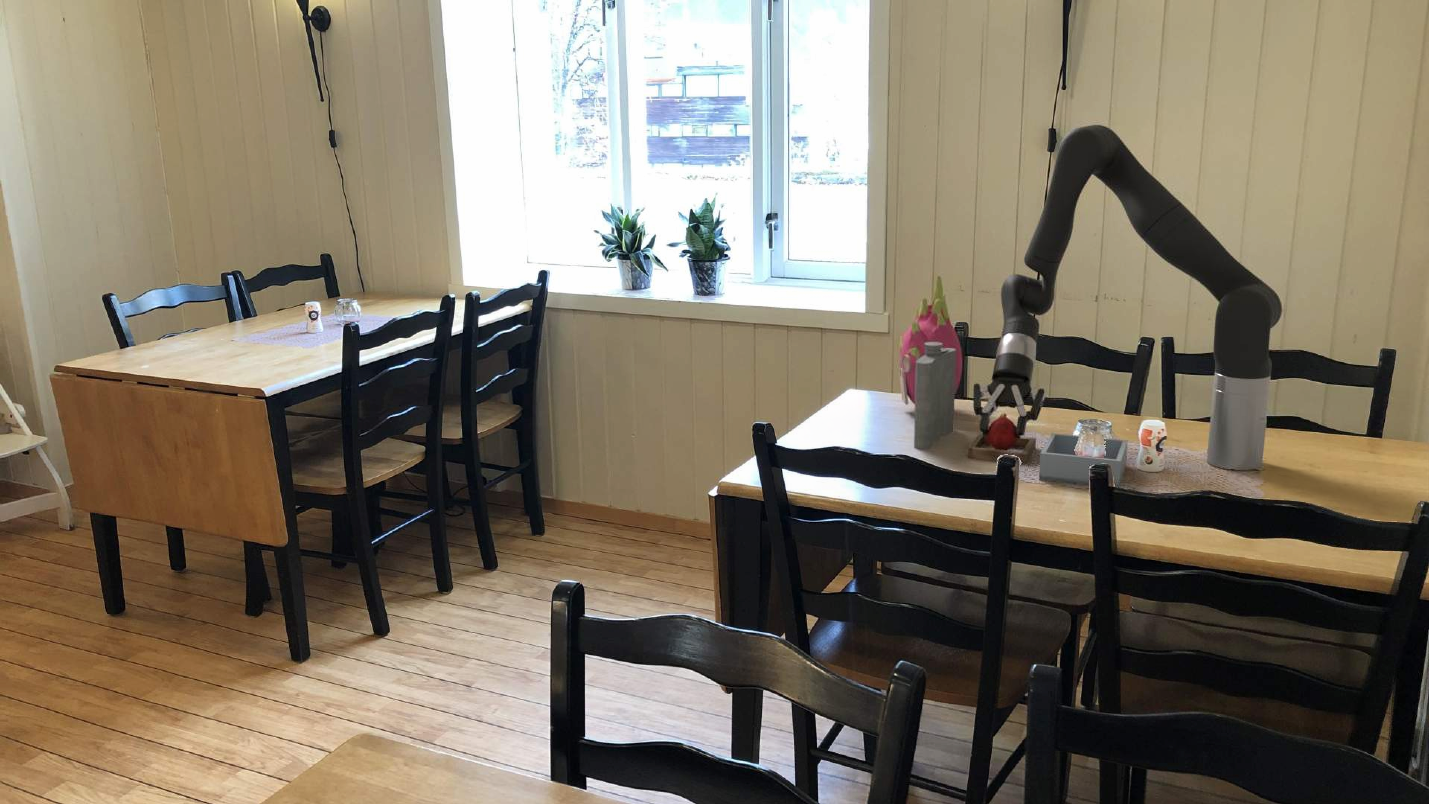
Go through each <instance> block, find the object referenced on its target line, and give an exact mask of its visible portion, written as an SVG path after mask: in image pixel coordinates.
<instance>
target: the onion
mask: <svg viewBox="0 0 1429 804" xmlns="http://www.w3.org/2000/svg"><path fill="white" fill-rule="evenodd" d="M1007 416H1008V415H1007V414H1006V413H1005V412H1002V413H1000V415H999V417H998V418H997V419H995V420H993V422H991V424H989V427H988V432H987V437H988V441H989V443H990V445H989V446H991V447H992V449H997V450H1007V451H1010V449H1011V448H1013V447H1012V446H1013V445H1015V443H1016V442H1017V439H1018V438H1016V427H1017V425H1015V423H1014V422H1013V421H1012V420H1011V419H1009V418H1008V417H1007Z"/></svg>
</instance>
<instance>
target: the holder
mask: <svg viewBox="0 0 1429 804" xmlns="http://www.w3.org/2000/svg"><path fill="white" fill-rule="evenodd" d="M1036 441H1037V438H1036V437H1035V438H1034V437H1025V436H1021V437H1020V438H1018V439H1017V442H1016V443H1015V445H1013V446H1012V447H1011V448H1014V449H1015V448H1017V449H1022V451H1015V450H1014V451H1013V450H997V449H994V448H985V447H983V446H984V445H985V446H987V445H988V446H991V445H990V443H989V441H988V437H987V435H983V433H982V432H979V433H978V435H977V436H976V437H975V438H974V440H973V441H972V442H971V444H970V445H969V446H967V459H972V460H973V459H975V460H980V461H981V460H984V461H991V462H992V461H993V462H997V461H996V460H997V458H998V457H999V456H1000V455H1004V454H1008V455H1015V456H1017V457H1019V458H1020V460H1021V462H1022V464H1021V465H1027V463H1028V461H1029V460H1030V458H1031V456H1032V455H1033V453H1034V451H1035V450H1036V446H1037V445H1036V443H1037V442H1036Z"/></svg>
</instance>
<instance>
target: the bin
mask: <svg viewBox="0 0 1429 804" xmlns="http://www.w3.org/2000/svg"><path fill="white" fill-rule="evenodd" d="M1078 436H1079V435H1076V434H1075V435H1074V434H1065V433H1064V434H1063V433H1054V432H1053V433H1051V434H1050V435H1049V437H1048V438H1047V441H1046V443H1045V444H1044V446H1043V448H1042V450H1041V452H1040V454H1039V457H1040V458H1039V475H1038V476H1039V477H1038V480H1039V481H1040V480H1041V481H1046V482H1047V481H1048V482H1056V483H1065V484H1066V483H1067V484H1076V485H1083V486H1090V485H1089V467H1090V466H1092V465H1093V464H1096V463H1111V464H1112V472H1113V477H1114V484H1115V487H1119V488H1120V487H1121V486H1120V485H1121V482H1122V480H1123V476H1124V473H1125V470H1126V467H1127V454H1128V442H1129V440H1128V439H1121V438H1119V439H1117V438H1110V437H1108V439H1104V441H1106V443H1105V444H1104V445H1106V446H1105V447H1106V448H1105V451H1106V456H1104V458H1097V457H1087V456H1077V455H1076V454H1075V451H1074V449H1075V446H1076V444H1077V441H1078V438H1079V437H1078Z"/></svg>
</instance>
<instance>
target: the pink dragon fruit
mask: <svg viewBox="0 0 1429 804" xmlns="http://www.w3.org/2000/svg"><path fill="white" fill-rule="evenodd" d="M942 281H943V280H942V277H941V276H940V275H938V276H937V277H936V283H935V288H934V292H933V296H932V301H931V302H930V303H931V304H929V305H928V300H927V298H926V297H924V298H923V299H922V300H921V302H920V306H919V307H920V308H918V307H917V308H916V309H915V310H916V313H917V314H916V317H915V320H914V321H913V322H912V324H911V325H910V326H909V328H908V329H907V330H906V332H905V333H904V334H903V335H900V339H899V354H900V356H899V357H900V358H899V369H898V370H899V371H898V372H899V373H898V374H899V382H900V383H899V384H900V393H901V401H902V402H903V403H904V404H905V405H906V406H907V405H909V400H910V401H911V403H913V405H915V378H916V361H917V360H918V359H919V358H921V357H922V356H924V355H926V353H925V349H926V348H924V343H927V342H939V343H942V344H943V348H953V349H956V365H955V394H956V393H957V390H958V388H959V386H960V382H961V378H962V372H963V354H962V347H961V344H960V339H959V337H958V335H957V333H956V330H955V327H954V326H953V325H952V323H951V318H950V315H949V311H948V305H947V301H946V294H944V292H943V290H944V289H943V284H942ZM941 349H942V348H941Z"/></svg>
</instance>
